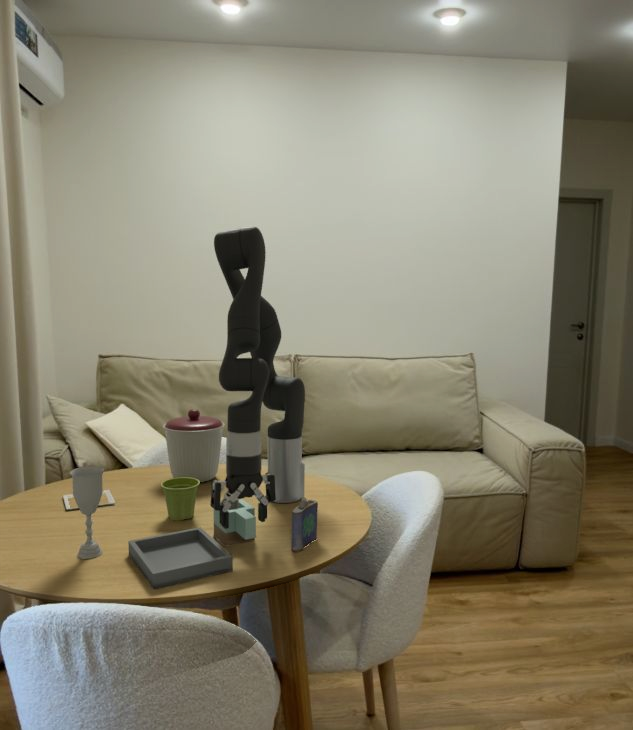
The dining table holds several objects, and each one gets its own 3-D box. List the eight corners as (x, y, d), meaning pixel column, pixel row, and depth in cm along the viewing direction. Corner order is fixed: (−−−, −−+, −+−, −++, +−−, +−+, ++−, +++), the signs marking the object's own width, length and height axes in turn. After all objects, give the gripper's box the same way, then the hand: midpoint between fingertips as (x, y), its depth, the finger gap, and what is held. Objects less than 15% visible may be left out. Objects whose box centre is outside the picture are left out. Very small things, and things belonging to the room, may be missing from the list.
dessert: (115, 506, 163) (115, 489, 162) (66, 513, 158) (65, 495, 157) (109, 493, 174) (108, 476, 173) (62, 499, 168) (62, 482, 168)
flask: (298, 553, 134) (299, 504, 132) (287, 550, 135) (287, 502, 134) (319, 538, 142) (319, 493, 140) (308, 536, 143) (308, 491, 142)
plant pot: (191, 525, 149) (190, 489, 148) (154, 521, 151) (154, 487, 150) (206, 511, 158) (205, 478, 157) (171, 508, 160) (170, 476, 159)
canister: (163, 471, 193) (162, 404, 191) (222, 468, 197) (221, 403, 195) (163, 489, 176) (162, 416, 173) (228, 485, 180) (227, 413, 178)
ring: (241, 517, 146) (241, 499, 145) (265, 535, 135) (265, 515, 135) (213, 523, 142) (213, 503, 142) (235, 541, 132) (235, 521, 131)
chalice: (78, 547, 136) (75, 466, 133) (110, 546, 136) (108, 466, 134) (68, 561, 128) (65, 476, 126) (101, 560, 129) (99, 475, 127)
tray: (200, 540, 140) (200, 527, 140) (232, 570, 125) (232, 556, 124) (128, 554, 132) (128, 541, 132) (153, 589, 117) (153, 574, 116)
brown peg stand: (241, 530, 146) (241, 492, 145) (254, 540, 140) (254, 501, 139) (213, 535, 143) (213, 497, 142) (225, 546, 137) (225, 506, 136)
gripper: (266, 444, 140) (265, 513, 142) (206, 450, 133) (206, 524, 135) (281, 451, 134) (280, 524, 136) (219, 458, 127) (219, 535, 128)
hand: (243, 524), depth 135 cm, fingers open, 8 cm apart
